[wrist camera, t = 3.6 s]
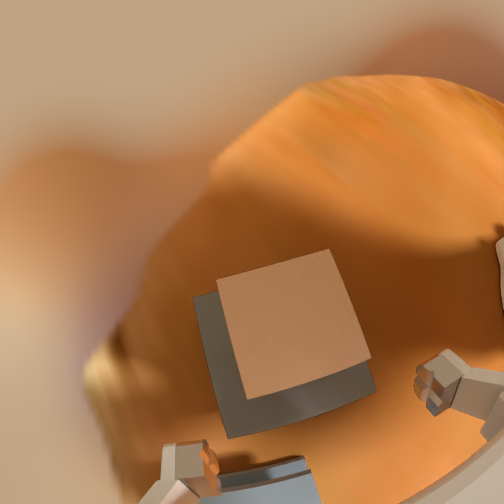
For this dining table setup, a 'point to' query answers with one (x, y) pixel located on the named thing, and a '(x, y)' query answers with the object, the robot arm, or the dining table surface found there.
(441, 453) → the dining table surface
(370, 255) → the dining table surface
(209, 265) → the dining table surface
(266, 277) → the block
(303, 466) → the stand
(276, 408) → the stand
